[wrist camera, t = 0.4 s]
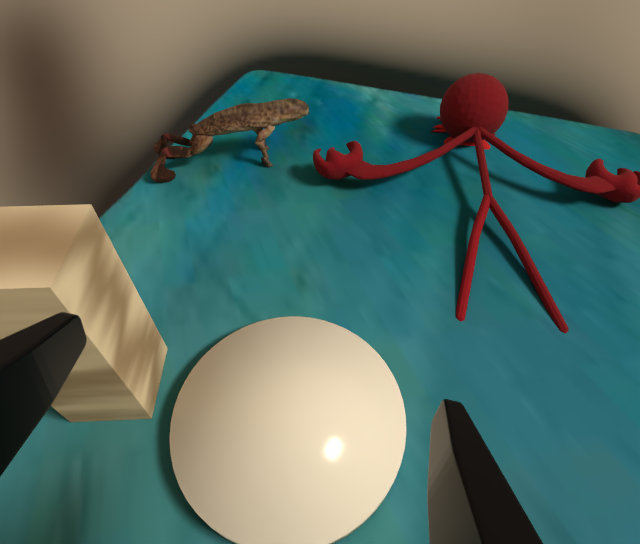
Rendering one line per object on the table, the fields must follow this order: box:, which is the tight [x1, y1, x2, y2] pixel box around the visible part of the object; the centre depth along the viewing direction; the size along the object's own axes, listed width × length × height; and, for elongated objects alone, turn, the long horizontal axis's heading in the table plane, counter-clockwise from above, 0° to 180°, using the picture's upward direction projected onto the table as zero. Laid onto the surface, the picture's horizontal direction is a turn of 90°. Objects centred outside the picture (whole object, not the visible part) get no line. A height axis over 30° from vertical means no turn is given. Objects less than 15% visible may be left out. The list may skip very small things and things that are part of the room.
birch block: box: [0, 205, 167, 422], centre depth 22 cm, size 5×5×13 cm
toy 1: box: [151, 98, 309, 182], centre depth 42 cm, size 6×9×16 cm
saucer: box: [169, 317, 406, 544], centre depth 25 cm, size 14×14×1 cm
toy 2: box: [313, 73, 640, 333], centre depth 39 cm, size 32×8×30 cm
